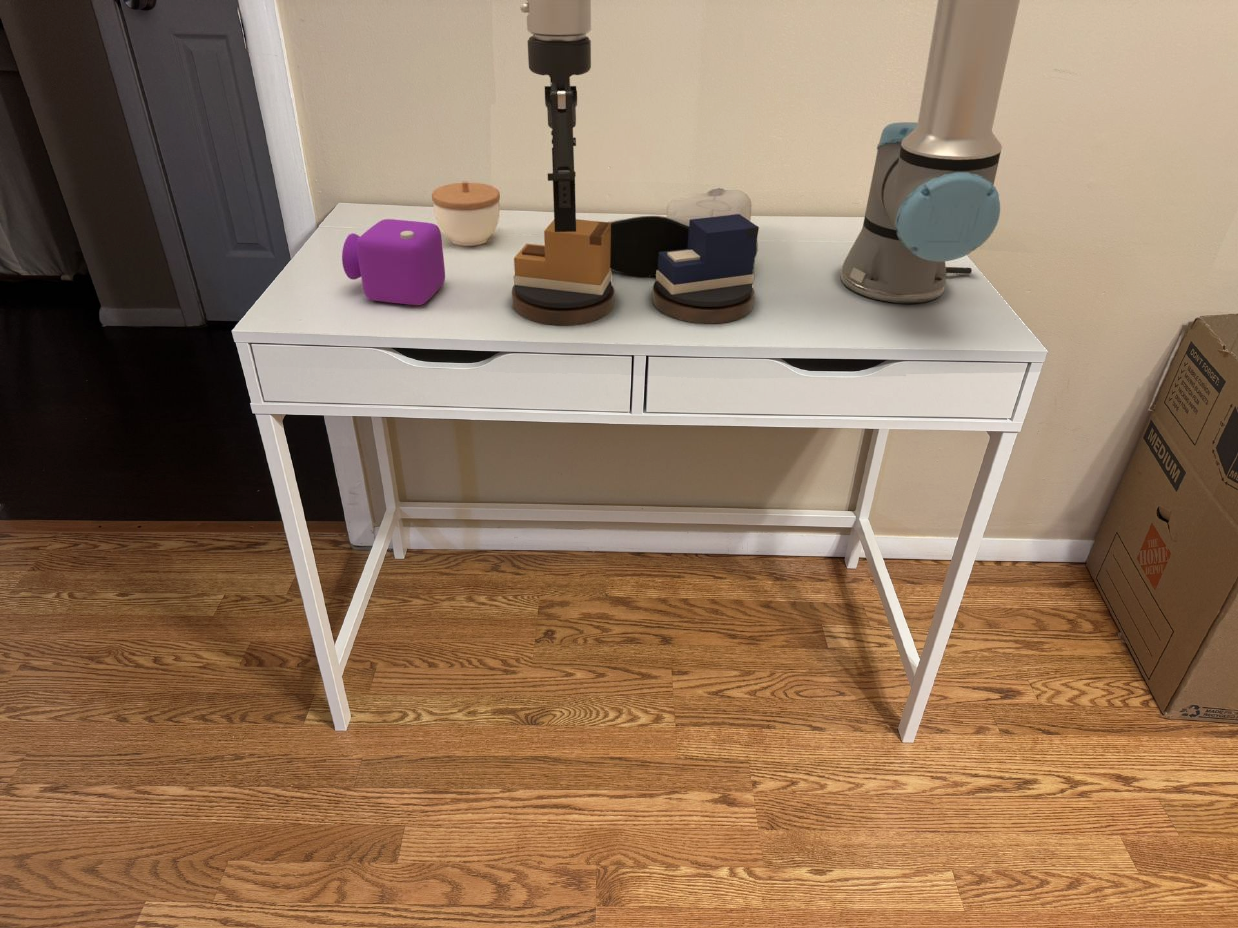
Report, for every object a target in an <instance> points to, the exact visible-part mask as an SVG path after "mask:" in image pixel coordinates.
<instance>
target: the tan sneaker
mask: <svg viewBox="0 0 1238 928" xmlns="http://www.w3.org/2000/svg"><path fill="white" fill-rule="evenodd" d="M543 237H544V238H543V239H544V241H543V242H544V243H543V244H544V245H543V244H535V243H525V244H524V246H523V247H522V248H521V249H520V250H519V251H518V253H517V254H516V255H515V256H514V257H513V267H514V269H513V270H514V275H513V286H514V288H515V292H516V294H517V295H518V296H519V297H520V298H521V299H523V300H525V301H527V302H529V303H531V304H535V305H538V306H543V307H549V308H577V307H583V306H588V305H591V304H595V303H597V302H599V301H601V300H603V299H605V298H606V297H607V296H608V295H609V294H610V292H611V287H612V286H613V284H612V269H610V248H611V223H610V221H597V220H589V219H579V218H576V232H555V226H554V219H553V220H552V221H551V222H550V224H549V225H548V226H547V227H546V228H545V229H544V230H543Z"/></svg>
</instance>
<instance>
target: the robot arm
mask: <svg viewBox="0 0 1238 928" xmlns="http://www.w3.org/2000/svg"><path fill="white" fill-rule="evenodd" d="M1020 1H1021V0H937V3H936V8H935V16H934V21H933V22H934V23H933V27H932V32H931V33H932V34H931V40H930V44H929V45H930V46H929V52H928V58H927V64H926V70H925V76H924V82H923V89H922V93H921V94H922V95H921V101H920V107H919V113H918V120H917V121H916V122H914V121H913V122H911V121H910V122H909V121H904V122H903V121H902V122H900V121H899V122H892V123H889V124H887V125H885V127H884V128H883V129H882V131H881V135H880V139H879V142H878V144H877V145H876V150H877V151H876V157H875V162H874V167H873V170H872V171H873V172H872V176H871V182H870V188H869V192H868V198H867V203H866V207H865V212H864V218H863V224H862V227H861V230H860V232H859V234H858V235H857V237H856V239H855V241H854V242H853V244H852V246H851V248H850V250H849V252H848V253H847V255H846V257H845V259H844V261H843V264H842V266H841V271H840V280H841V282H842V284H843V285H844V286H845V287H847V288H848V289H849V290H850V291H853V292H854V293H857V294H859V295H860V296H864V297H867V298H870V299H873V300H877V301H883V302H887V303H895V304H918V303H927V302H930V301H933V300H935V299H938V298H939V297H940V296H942V295H943V293H944V292H945V287H946V284H947V274H959V275H962V274H963V275H971V274H972V271H973V269H972V268H971V267H957V266H947V265H946V262H950V261H955V260H958V259H961V258H964V257H966V256H968V255H970V254H971V253H972V252H974V251H976V250H977V249H978V248H980V247H981V246H982V245H983V244H985V243H986V241H988V239H989V238H990V237H991V235H992V234H993V233H994V231H995V229H996V227H997V225H998V222H999V219H1000V217H1001V216H1000V214H1001V201H1000V195H999V192H998V190H997V188H996V186H995V181H996V177H997V176H996V175H997V173H998V172H997V171H998V167H999V163H1000V157H1001V152H1002V148H1003V146H1002V143H1001V142H1000V141H999V139H998V137H996V135H995V134H994V133H993V126H994V122H995V117H996V112H997V108H998V103H999V100H1000V99H999V98H1000V94H1001V90H1002V85H1003V80H1004V76H1005V71H1006V67H1007V61H1008V57H1009V54H1010V53H1009V52H1010V47H1011V43H1012V39H1013V34H1014V30H1015V25H1016V19H1017V15H1018V11H1019V5H1020ZM520 11H521V12H522V13H525V14H526V13H528V14H527V16H526V29H527V32H528V33H529V34H531V36H529V38H528V40H527V60H528V68H529V70H530V72H532V73H534V74H536V75H540V76H548V77H549V80H550V81H549V83H550V84H549V85H544V105H545V107H546V109H547V110H546V112H547V126H548V127H549V128H550V129H551V132H550V134H551V136H552V137H551V144H552V147H551V155H552V156H551V161H552V173H551V172H549V173H547V181H548V182H552V194H553V195H552V198H553V220H554V226H555V232H576V219H577V210H576V209H577V208H576V206H577V205H576V204H577V203H576V171H575V150H574V147H577V137H574V128H575V127H576V125H577V110H576V109H577V106H578V90H577V85H571V77H572V76H581V75H585V74H586V73H589V72H590V70H591V68H592V40H591V39H590V38H589V36H587V35H588V34H589V33H590V32H591V31H592V0H526V2H523V3H521V4H520Z"/></svg>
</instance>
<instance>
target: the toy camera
mask: <svg viewBox="0 0 1238 928" xmlns="http://www.w3.org/2000/svg"><path fill="white" fill-rule="evenodd" d="M441 232H442V231H441V229H440V227H439V225H438V224H435V223H432V222H427V221H426V222H424V221H415V220H404V219H394V218H386V219H381V220H380V221H378V222H376V223H375V224H374V225H372V226H371V227H370V228H368V229H367V230H366V231H365V232H363V233H362V234H361V235H359V234H356V233H353V232H352V233H349V235H348V236H346V238H345V241H344V243H343V246H342V252H341V264H342V268H343V271H344V274H345V275H346V277H347V278H348V279H349V280H358V279H360V278H361V285H362V288H363V293H364V295H365V297H366V298H367V299H368V300H372V301H376V302H382V303H390V304H391V303H392V304H402V305H409V306H410V305H411V306H420V305H424V304H426V303H427V302H428V301H429V300H430V299H431V298H432V297H433V296H434V295H435V294H436V292H437V291H438V290H439V289H440V288H441V287H442V286H443V284H444V283H445V281H446V268H445V259H444V248H443V239H442V233H441Z"/></svg>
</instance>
